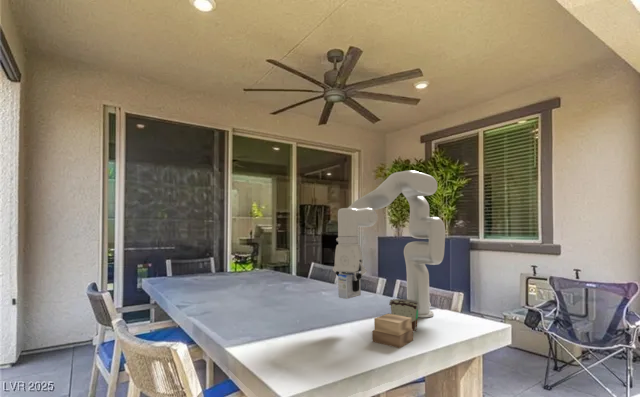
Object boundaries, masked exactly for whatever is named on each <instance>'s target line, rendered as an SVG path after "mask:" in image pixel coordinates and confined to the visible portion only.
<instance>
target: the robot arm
mask: <svg viewBox="0 0 640 397" xmlns="http://www.w3.org/2000/svg"><path fill="white" fill-rule="evenodd" d="M437 191H438V181H437V180H436V178H434V176H432V175H430V174H427V173H424V172H419V171H417V170H412V169H411V170H403V171H397V172H396V171H395V172H393V173H391V174H390V175H388V176H387V177H386V179H385V180H384V181H383V182H381V183H380V184H379V185H378V186H377V187H376V188H375V189H374V190H372V191H370V192H368V193H366V194H365V195H363V196H361V197H359V198H358V199H356V200H355V201H354V202H352V204H350V205H349V206H348V207H343V208H342V207H341V208H339V209H338V210H337V232H338V233H337V237H336V239H335V240H336V242H337V243H338V244H336V246H335V250H334V251H335V252H334V266H333V267H332V271H333V272H334V274H336V275H337V277H338V274H341V273H346V272H349V273H353V277H354V281H353V292H356V291H359V280H360V281H361V279H362V278H363V276H364V275H366V274H367V273H368V270H367V268H366V267H365V266H364V263H363V253H362V252H363V251H362V249H361V244H359V243H360V242H359V228H368V227H369V228H370V227H373V226H374V225H375V224H376V223H377V221H378V220H379V219H378V216H379V215H378V213H377V211H376V210H380V209H383V208H385V207H389V205H391V204H392V203H393V202H394V201H395V200H396V199H397V197H399V196H400V194H402V195H403V197H404V198H405V199H406V200H407V202H408V204H409V220H408V224H409V225H408V234H409V235H410V237H412V238H414V239H419V240H420V239H424V240H426V239H428V241H419V240H418V241H411V242H407V243H406V245H405V246H404V248H403V256H404V257H403V258H404V261H405V267H406V268H405V269H406V270H405V271H406V299H408V300H414V301H417V302H418V303H419V305H420V310H418V318H424V319H425V318H431V317H434V315H435V314H434V311H432V310H430V309H431V308H430V307H431V306H432V304H431V302H430V273H429V269H428V268H427V266H426V265H430V266H432V265H433V266H435V265H440V264H441V263H442V262H443V260H444V257H445V246H446V243H445V242H446V225H445V223H444V221H443V220H442V218H440V217H439V216H430V204H429V202H428V201H427V199H426V198H425V197H427V196H432V195H434V194H435V193H436V192H437Z"/></svg>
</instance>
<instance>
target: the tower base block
mask: <svg viewBox="0 0 640 397" xmlns="http://www.w3.org/2000/svg"><path fill="white" fill-rule="evenodd" d="M371 335H372V336H371V339H372V343H376V344H379V345H380V344H381V345H384V346H390V347H393V348H397V349H401V348H403V347H405V346H406V345H408V344H410V343H411V342H413V341H414V331H413V329H412V330H411V331H408V332H406V333H404V334H402V335H400V336H396V335H392V334H387V333H383V332H378V331H375V329H373V330H372V332H371Z"/></svg>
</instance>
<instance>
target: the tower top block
mask: <svg viewBox="0 0 640 397" xmlns="http://www.w3.org/2000/svg"><path fill="white" fill-rule="evenodd" d="M373 321H374V330H375V331H378V332H383V333H387V334H392V335H396V336H400V335H402V334H404V333H406V332H408V331H411V330H412V318H410V317H405V316H399V315H394V314H391V313H386V314H384V315H380V316H378V317H377V316H376V317H374V320H373Z"/></svg>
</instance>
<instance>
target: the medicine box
mask: <svg viewBox="0 0 640 397" xmlns="http://www.w3.org/2000/svg"><path fill="white" fill-rule="evenodd" d="M337 281H338V282H337V283H338V284H337V285H338V287H337V289H338V290H337V292H338V298H339V299H344V300H348V299H352V298H357V297H360V296H361V295H362V294H361V293H362V292H361V291H362V290H361V288H362V286H361V279H360V280H359V291H356V292H353V281H354V277H353V273H349V272H346V273H341V274H338V276H337Z"/></svg>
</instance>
